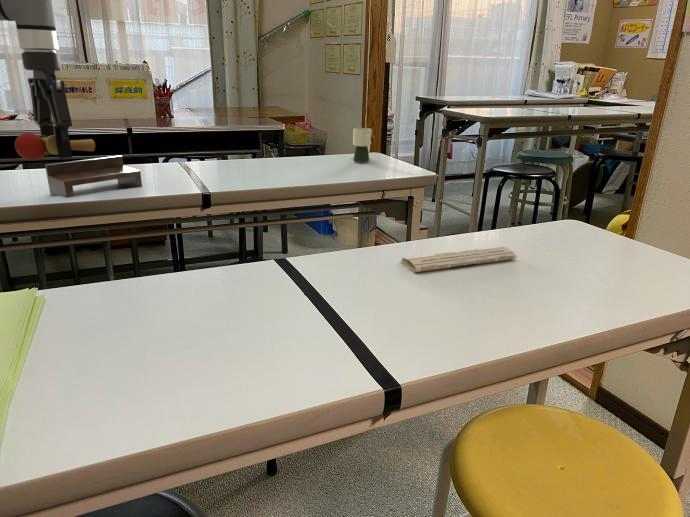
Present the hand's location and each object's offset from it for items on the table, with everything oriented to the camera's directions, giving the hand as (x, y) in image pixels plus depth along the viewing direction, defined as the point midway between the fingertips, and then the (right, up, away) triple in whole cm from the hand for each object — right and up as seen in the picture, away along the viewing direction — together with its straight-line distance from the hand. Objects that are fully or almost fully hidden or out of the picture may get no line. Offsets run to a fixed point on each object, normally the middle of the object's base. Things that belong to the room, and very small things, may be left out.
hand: (58, 155), depth 122 cm
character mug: (+75, +14, +84) cm, 113 cm away
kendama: (0, 0, 0) cm, 1 cm away
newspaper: (+91, -25, -16) cm, 96 cm away
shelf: (-4, -5, +29) cm, 30 cm away
